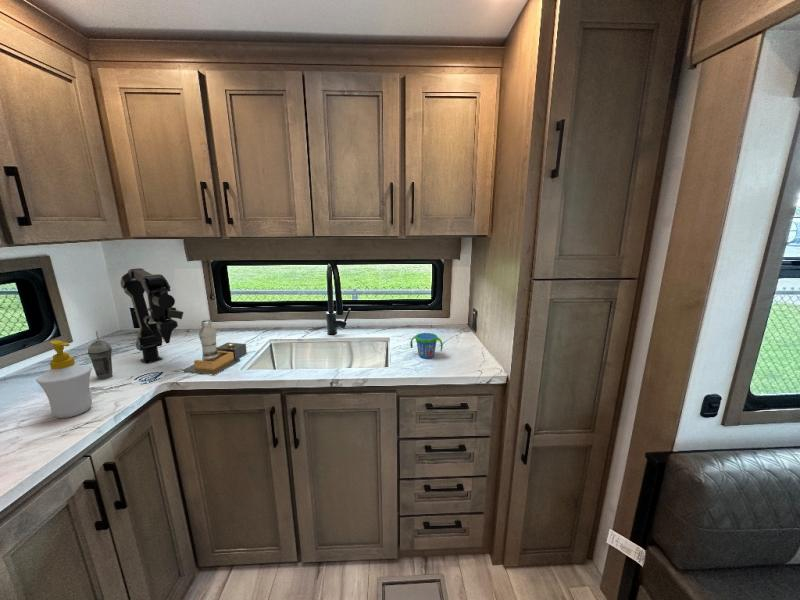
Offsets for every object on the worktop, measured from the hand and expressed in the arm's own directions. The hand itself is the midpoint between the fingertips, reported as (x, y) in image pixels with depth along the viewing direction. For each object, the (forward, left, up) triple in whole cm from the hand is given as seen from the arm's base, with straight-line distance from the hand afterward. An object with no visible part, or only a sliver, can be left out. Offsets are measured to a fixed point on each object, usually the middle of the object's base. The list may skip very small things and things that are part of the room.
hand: (163, 341), depth 139 cm
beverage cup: (-12, -18, -13) cm, 25 cm away
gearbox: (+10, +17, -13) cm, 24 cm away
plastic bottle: (+12, +13, -12) cm, 21 cm away
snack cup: (+83, +79, -13) cm, 115 cm away
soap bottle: (+13, -32, -13) cm, 37 cm away
